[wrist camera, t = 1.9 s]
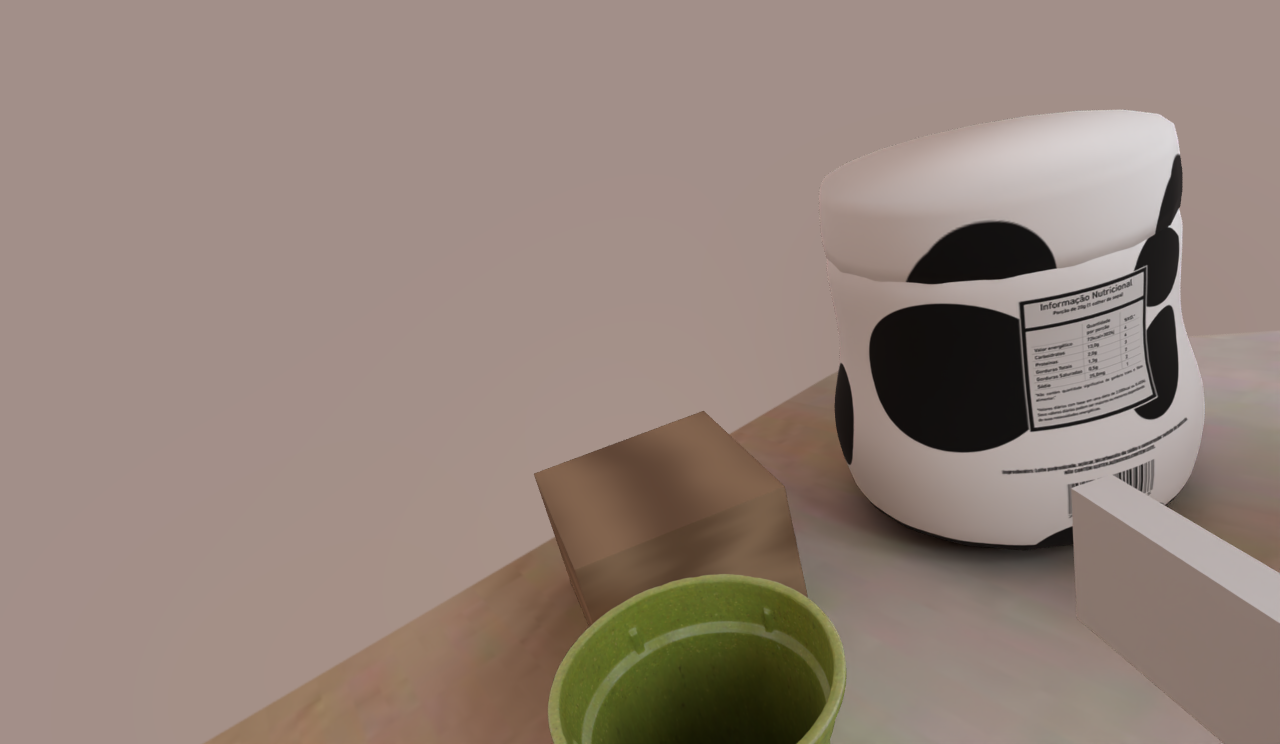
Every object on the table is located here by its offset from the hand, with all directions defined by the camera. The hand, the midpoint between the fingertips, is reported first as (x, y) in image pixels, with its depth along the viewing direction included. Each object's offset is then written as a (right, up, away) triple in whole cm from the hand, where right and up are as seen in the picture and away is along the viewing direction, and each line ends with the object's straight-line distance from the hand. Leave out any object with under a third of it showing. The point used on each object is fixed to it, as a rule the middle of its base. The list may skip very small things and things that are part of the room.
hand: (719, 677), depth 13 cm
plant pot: (+2, -12, +15) cm, 20 cm away
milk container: (+19, -1, +31) cm, 37 cm away
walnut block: (+1, -7, +30) cm, 30 cm away
